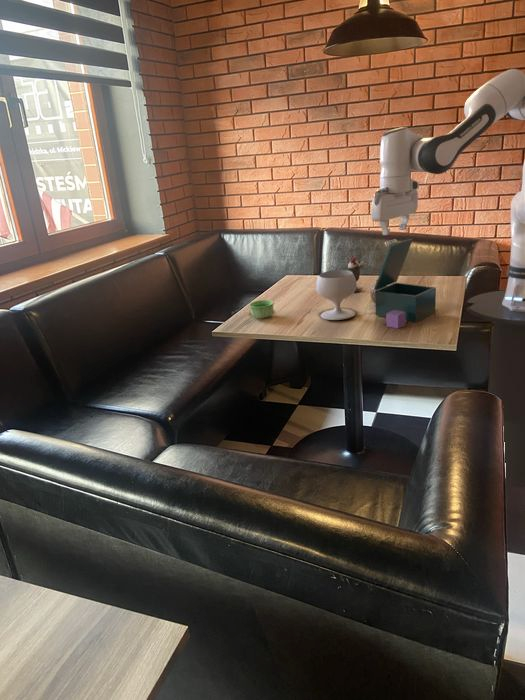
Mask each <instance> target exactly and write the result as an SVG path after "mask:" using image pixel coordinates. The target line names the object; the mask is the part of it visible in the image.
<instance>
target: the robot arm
mask: <svg viewBox="0 0 525 700" xmlns="http://www.w3.org/2000/svg"><path fill="white" fill-rule="evenodd" d="M463 113H464V116H465V119H463V121H461V122H460V123H459V124H458V125H456V126H455V127H454V128H453V129H452V130H451V131H449V132H448V133H446V134H444V135H437V136H433V137H431V136H430V137H425V136H422V135H419V134H417V133H415V132H413V131H411V130H410V129H409V128H408V127H407V126H401V127H397V128H393V129H389V130H387V131H385V132H384V133H383V134H382V137H381V140H380V148H379V163H380V164H379V165H380V168H381V169H380V173H379V188H378V189H376V191H375V193H374V194H373V198H372V202H371V211H370V212H371V214H370V219H371V220H372V221H373V222H376V223H377V222H379V226H380V228H381V234H382V236H388V235H391V233H390V232H391V229H390V228H389V226H388V224H389V220H393V219H397V218H401V221H400V224H399V227H398V228H399V230H400V231H405V230H407V229H408V222H409V220H410V215H412V214H416V212H417V211H418V207H419V192H418V190H419V188H420V183H419V181H417V180H415V179H413V178H411V173H412V172H413V171H414V172H418V173H428V174H432V175H441V174H444V173H446V172H448V171H449V170H450V169H451V168H452V167H453V166H454V165H455V162H456V161H457V160H458V158H459V156H460V155H461V154H462V153H463V152H464V150H466V149H467V148H468V147H469V146H470V145H471V144H472V143H473V142H475V140H477V139H478V138H479V137H480V136H481V135H483V134H484V133H485V132H487V130H489V128H490V127H491V126H492V125H494V124H496V122H499V120H501V119H502V118H503V117H504V116H506V117H507V118H509V119H512V120H515V121H519V120H521V121H525V73H524V71H522V70H520V69H519V68H518V69H517V68H511V69H507V70H505V71H503V72H501V73H500V74H497V75H495V76H494V77H493V78H491V79H490V80H488V81H487V82H485V83H484V84H483V85H481V86H480V87H478V88H477V89H476V90H475V91H473V93H472V94H471V95H470V96H469V97H468V98H467V99H466V101H465V103H464V108H463ZM522 165H523V166H522V180H521V190H520V191H518V192H517V193H516V194H514V196H513V197H512V199H511V201H510V237H511V239H510V240H511V241H510V245H511V246H510V257H509V258H510V259H509V264H508V265H507V266H508V267H507V273H506V274H507V284H506V289H505V290H506V293H505V296H504V299H503V302H502V305H503V306H505V307H507V308H509V309H510V310H511V311H517V312H525V160H524V161H523V164H522Z"/></svg>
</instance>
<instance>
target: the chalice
mask: <svg viewBox="0 0 525 700" xmlns="http://www.w3.org/2000/svg"><path fill="white" fill-rule="evenodd" d="M356 288H358V285H357V282H356V279H355V276H354V274H353V273H352V272H351V271H348V270H347V269H346V270H344V269H336V270H335V269H334V270H328V271H323V272H320V273H319V274H318V276H317V279H316V283H315V290H316V292H317V294H318V295H319V296H320V297H322V298H324V299H326V300H328V301H330V302H332V303H333V305H334V309H330V310H326V311H324V312H322V313H321V314H320V318H322V319H323V320H330V321H340V320H347V319H350V318H353V317H354V316H356V312H355V310H352V309H348V308H347V309H346V308H341V303H342V302H343V301H344V300H345V299H347V298H348V297H350V296H352V295H353V294H354V293H356V292H355V290H356Z"/></svg>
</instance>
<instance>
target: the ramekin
mask: <svg viewBox="0 0 525 700" xmlns="http://www.w3.org/2000/svg"><path fill="white" fill-rule="evenodd" d="M248 305H249V309H250V313H251V316H252V317H253V318H257V319H260V318H262V319H263V318H267V317H270V316H272V315H274V301H273V300H272V299H271V300H269V299H261V300H256V301H255V300H254V301H252V302H250V303H249V304H248Z"/></svg>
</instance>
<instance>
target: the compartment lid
mask: <svg viewBox="0 0 525 700" xmlns="http://www.w3.org/2000/svg"><path fill="white" fill-rule="evenodd" d="M412 242H413V238H407V239H405V240H401V241H399V242H398V240H397V239H396V238H394V239H391V240H387V241H385V242H384V246H385V247H386V248H388V250H387V252H386V254H385V258H384V261H383V264H382V266H381V269H380V272H379V275H378V277H377V279H378V280H377V279H376V280H377V283H376V286H375V290H378V289H380V288H382V287H385V286H389V285H391V284H393V283H398V279H399V277H400V274H401V271H402V268H403V266H404V264H405V261H406V258H407V256H408V252H409V251H410V248H411V245H412Z"/></svg>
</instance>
